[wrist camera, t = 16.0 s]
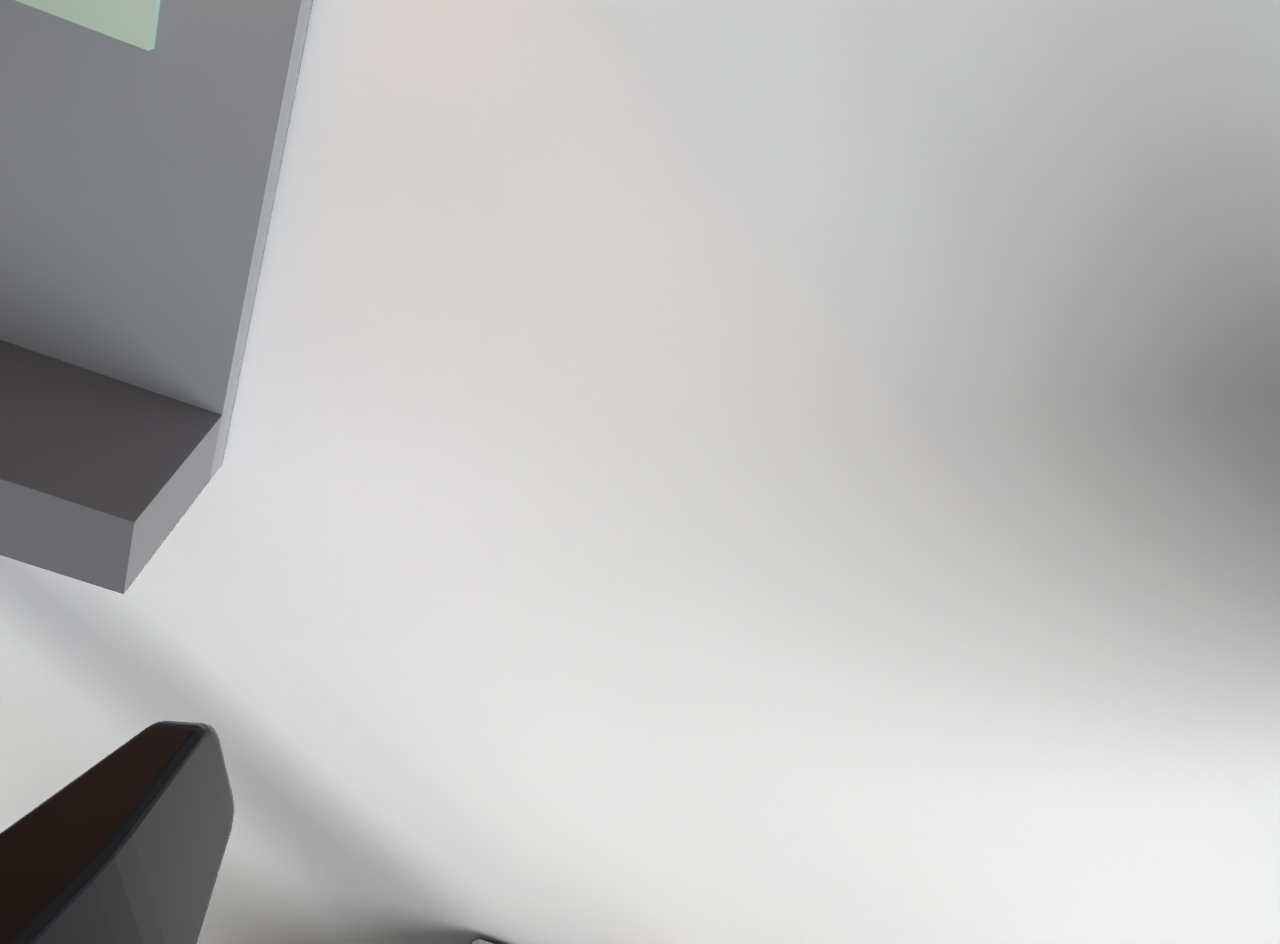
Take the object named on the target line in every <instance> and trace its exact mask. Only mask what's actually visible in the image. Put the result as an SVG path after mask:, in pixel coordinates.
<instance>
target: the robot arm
mask: <svg viewBox="0 0 1280 944" xmlns="http://www.w3.org/2000/svg"><path fill="white" fill-rule="evenodd" d="M233 814H234V802H233V796H232V791H231V787H230V783H229V779H228V775H227V770H226V766H225V762H224V758H223V754H222V749H221V745H220V741H219V738H218V735H217V733H216V731H215V730H214V729H213V728H212V727H211V726H210V725H206V724H204V723H189V722H173V721H162V722H157V723H155V724H153V725H151V726H149V727H148V728H146V729H145V730H143V731H142V732H140V733H139V734H138V735H136V736H135V737H133V738H132V739H131V740H129V741H128V742H127V743H125V744H124V745H122V746H121V747H120V748H118V749H117V750H115V751H114V752H113V753H111V754H110V755H108V756H107V757H106V758H104V759H103V760H102V761H100V762H99V763H97V764H96V765H95V766H93V767H92V768H90V769H89V770H88V771H86V772H85V773H83V774H82V775H81V776H79V777H78V778H77V779H75V780H74V781H72V782H71V783H70V784H68V785H67V786H65V787H64V788H63V789H61V790H60V791H59V792H57V793H56V794H54V795H53V796H52V797H50V798H49V799H47V800H46V801H45V802H43V803H42V804H40V805H39V806H38V807H36V808H35V809H34V810H32V811H31V812H29V813H28V814H27V815H25V816H24V817H22V818H21V819H20V820H18V821H17V822H15V823H14V824H13V825H11V826H10V827H9V828H7V829H6V830H4V831H3V832H2V833H0V944H196V943H197V940H198V937H199V934H200V930H201V927H202V924H203V921H204V917H205V914H206V911H207V907H208V904H209V901H210V898H211V894H212V891H213V888H214V885H215V881H216V878H217V875H218V872H219V868H220V865H221V862H222V859H223V855H224V852H225V849H226V845H227V842H228V839H229V836H230V832H231V828H232V823H233Z"/></svg>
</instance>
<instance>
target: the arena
mask: <svg viewBox="0 0 1280 944" xmlns="http://www.w3.org/2000/svg"><path fill="white" fill-rule="evenodd" d="M312 3H313V0H0V555H2V556H6V557H9V558H12V559H15V560H18V561H21V562H24V563H28V564H31V565H34V566H37V567H40V568H43V569H47V570H50V571H53V572H56V573H59V574H62V575H65V576H69V577H72V578H75V579H78V580H81V581H84V582H87V583H91V584H94V585H97V586H100V587H103V588H106V589H109V590H113V591H116V592H119V593H122V594H124V593H125V591H126V590H127V589H128V588H129V586H130V585H131V584H132V582H133V581H134V580H135V578H136V577H137V576H138V574H139V573H140V572H141V570H142V569H143V568H144V566H145V565H146V564H147V562H148V561H149V560H150V559H151V557H152V556H153V555H154V553H155V552H156V551H157V549H158V548H159V547H160V545H161V544H162V543H163V541H164V540H165V539H166V537H167V536H168V535H169V533H170V532H171V531H172V530H173V528H174V527H175V526H176V524H177V523H178V522H179V520H180V519H181V518H182V516H183V515H184V514H185V512H186V511H187V510H188V508H189V507H190V506H191V504H192V503H193V502H194V501H195V499H196V498H197V497H198V495H199V494H200V493H201V491H202V490H203V489H204V487H205V486H206V485H207V483H208V482H209V481H210V479H211V478H212V477H213V475H214V474H215V473H216V472H217V470H218V469H219V468H220V466H221V465H222V462H223V457H224V452H225V447H226V442H227V436H228V431H229V426H230V421H231V416H232V411H233V406H234V401H235V396H236V391H237V386H238V380H239V375H240V370H241V365H242V360H243V355H244V350H245V345H246V340H247V335H248V329H249V324H250V319H251V314H252V309H253V304H254V299H255V294H256V289H257V284H258V279H259V273H260V268H261V263H262V258H263V253H264V248H265V243H266V238H267V233H268V228H269V223H270V217H271V212H272V207H273V202H274V197H275V192H276V187H277V182H278V177H279V172H280V166H281V161H282V156H283V151H284V146H285V141H286V136H287V131H288V126H289V121H290V116H291V110H292V105H293V100H294V95H295V90H296V85H297V80H298V75H299V70H300V65H301V60H302V54H303V49H304V44H305V39H306V34H307V29H308V24H309V19H310V14H311V9H312Z"/></svg>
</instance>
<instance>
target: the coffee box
mask: <svg viewBox="0 0 1280 944" xmlns="http://www.w3.org/2000/svg"><path fill="white" fill-rule="evenodd" d="M472 944H494V943H490V942H487V941H484V940H481V939H477V940H475V941H474V942H472Z"/></svg>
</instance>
